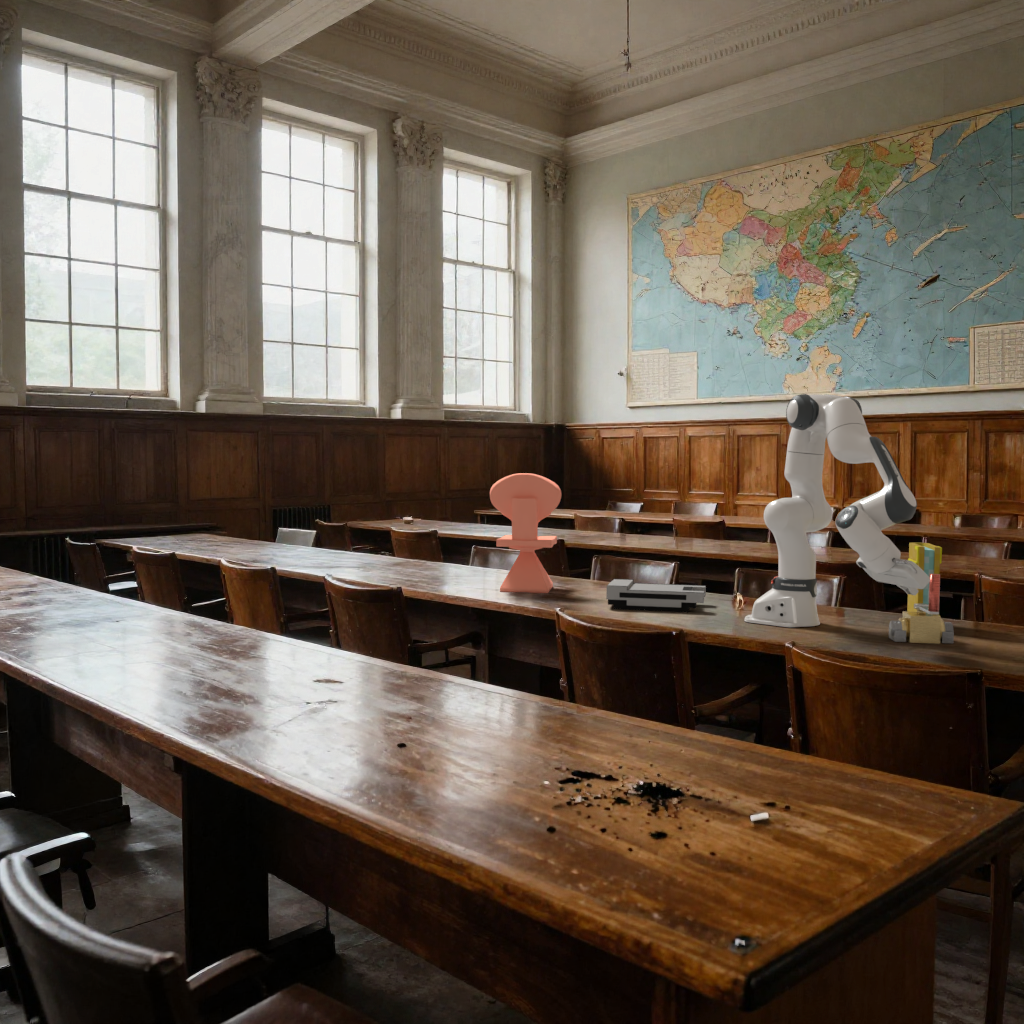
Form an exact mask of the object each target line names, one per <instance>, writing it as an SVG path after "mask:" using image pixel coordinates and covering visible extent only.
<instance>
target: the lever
mask: <svg viewBox="0 0 1024 1024" xmlns="http://www.w3.org/2000/svg"><path fill="white" fill-rule="evenodd" d="M929 578H930V582H929V604H923V603H915V604H914V609H920V610H922V611H924V612H926V613H928V614H938V615H940V595H941V594H940V590H941V587H940V586H941V574H940V573H939V574H930V577H929Z"/></svg>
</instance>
